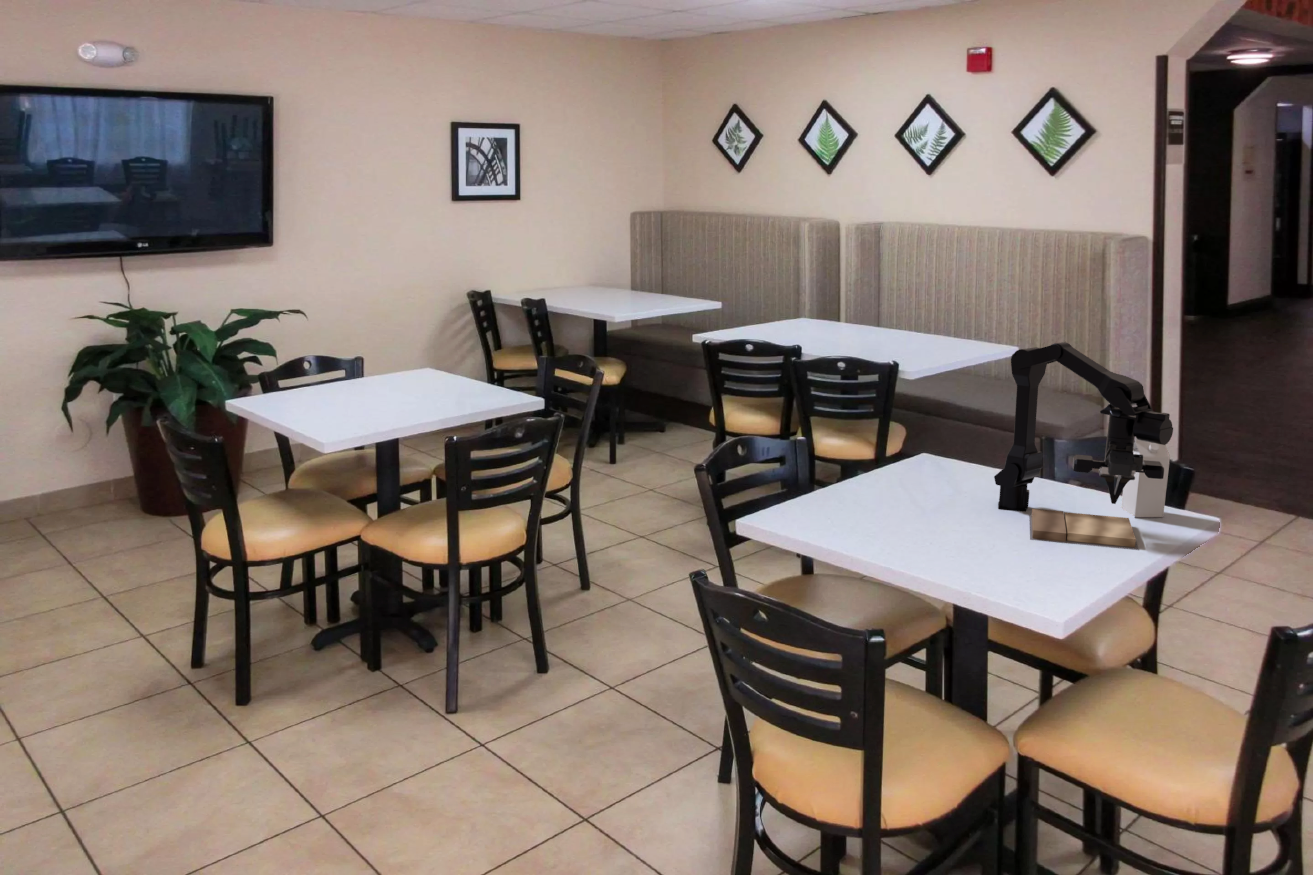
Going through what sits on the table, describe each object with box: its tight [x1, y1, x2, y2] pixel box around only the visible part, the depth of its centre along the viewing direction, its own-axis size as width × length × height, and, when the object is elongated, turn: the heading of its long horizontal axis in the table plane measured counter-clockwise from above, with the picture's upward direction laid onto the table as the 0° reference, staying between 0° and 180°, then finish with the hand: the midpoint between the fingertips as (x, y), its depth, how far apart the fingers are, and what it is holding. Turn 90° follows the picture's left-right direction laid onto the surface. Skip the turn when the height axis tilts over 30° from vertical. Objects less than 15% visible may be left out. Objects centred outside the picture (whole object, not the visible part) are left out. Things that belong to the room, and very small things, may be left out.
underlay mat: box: [1028, 514, 1140, 551], centre depth 255 cm, size 22×20×1 cm
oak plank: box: [1064, 511, 1137, 547], centre depth 254 cm, size 14×17×2 cm
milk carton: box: [1120, 437, 1171, 518], centre depth 269 cm, size 7×7×19 cm
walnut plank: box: [1031, 508, 1066, 542], centre depth 257 cm, size 7×18×2 cm, turn 163°
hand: (1113, 503), depth 253 cm, fingers closed
